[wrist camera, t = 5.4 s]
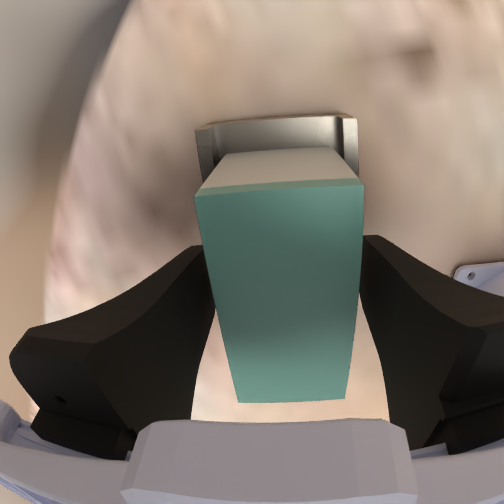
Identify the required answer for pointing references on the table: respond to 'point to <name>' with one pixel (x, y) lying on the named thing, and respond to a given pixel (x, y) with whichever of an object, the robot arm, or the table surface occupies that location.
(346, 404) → the table surface
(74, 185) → the table surface
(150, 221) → the table surface
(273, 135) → the grey rectangular tray
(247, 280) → the teal rectangular brick
